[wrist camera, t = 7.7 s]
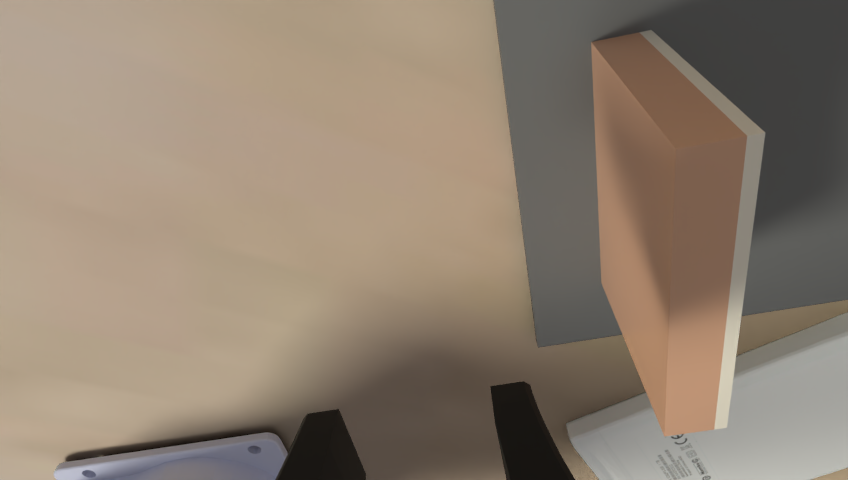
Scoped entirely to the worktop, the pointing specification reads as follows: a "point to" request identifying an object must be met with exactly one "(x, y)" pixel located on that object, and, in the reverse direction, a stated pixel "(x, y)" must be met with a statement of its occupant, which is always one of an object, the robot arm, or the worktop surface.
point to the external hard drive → (739, 420)
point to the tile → (674, 223)
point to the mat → (739, 82)
